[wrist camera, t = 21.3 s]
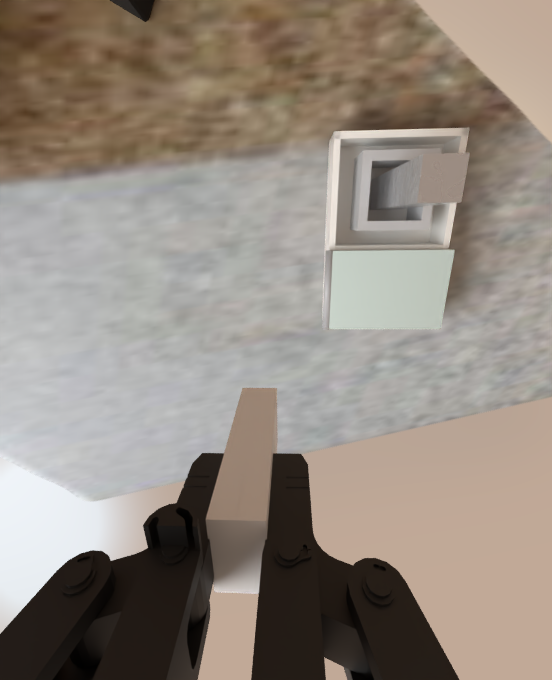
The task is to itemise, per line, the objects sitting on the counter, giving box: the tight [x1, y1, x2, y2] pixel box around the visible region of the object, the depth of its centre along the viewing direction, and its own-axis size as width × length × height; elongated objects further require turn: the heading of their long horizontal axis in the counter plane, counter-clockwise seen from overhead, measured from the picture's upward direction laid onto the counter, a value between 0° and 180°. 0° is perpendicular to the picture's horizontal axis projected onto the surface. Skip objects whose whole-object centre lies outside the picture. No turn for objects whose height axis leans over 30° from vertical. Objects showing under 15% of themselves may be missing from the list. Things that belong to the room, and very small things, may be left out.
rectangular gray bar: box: [369, 152, 470, 210], centre depth 32 cm, size 3×3×16 cm
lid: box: [322, 249, 455, 329], centre depth 39 cm, size 15×10×1 cm, turn 91°
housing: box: [322, 128, 469, 318], centre depth 39 cm, size 14×22×6 cm, turn 1°
